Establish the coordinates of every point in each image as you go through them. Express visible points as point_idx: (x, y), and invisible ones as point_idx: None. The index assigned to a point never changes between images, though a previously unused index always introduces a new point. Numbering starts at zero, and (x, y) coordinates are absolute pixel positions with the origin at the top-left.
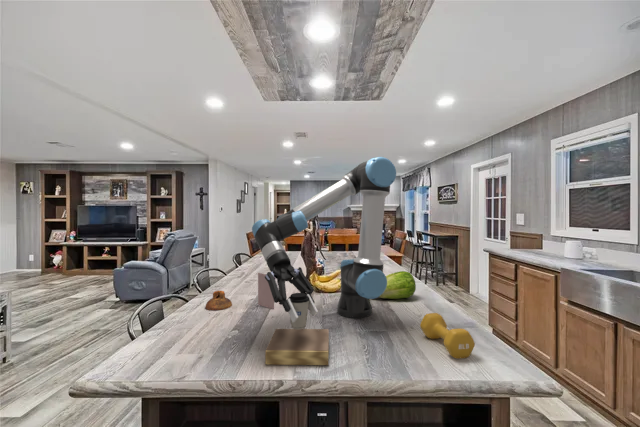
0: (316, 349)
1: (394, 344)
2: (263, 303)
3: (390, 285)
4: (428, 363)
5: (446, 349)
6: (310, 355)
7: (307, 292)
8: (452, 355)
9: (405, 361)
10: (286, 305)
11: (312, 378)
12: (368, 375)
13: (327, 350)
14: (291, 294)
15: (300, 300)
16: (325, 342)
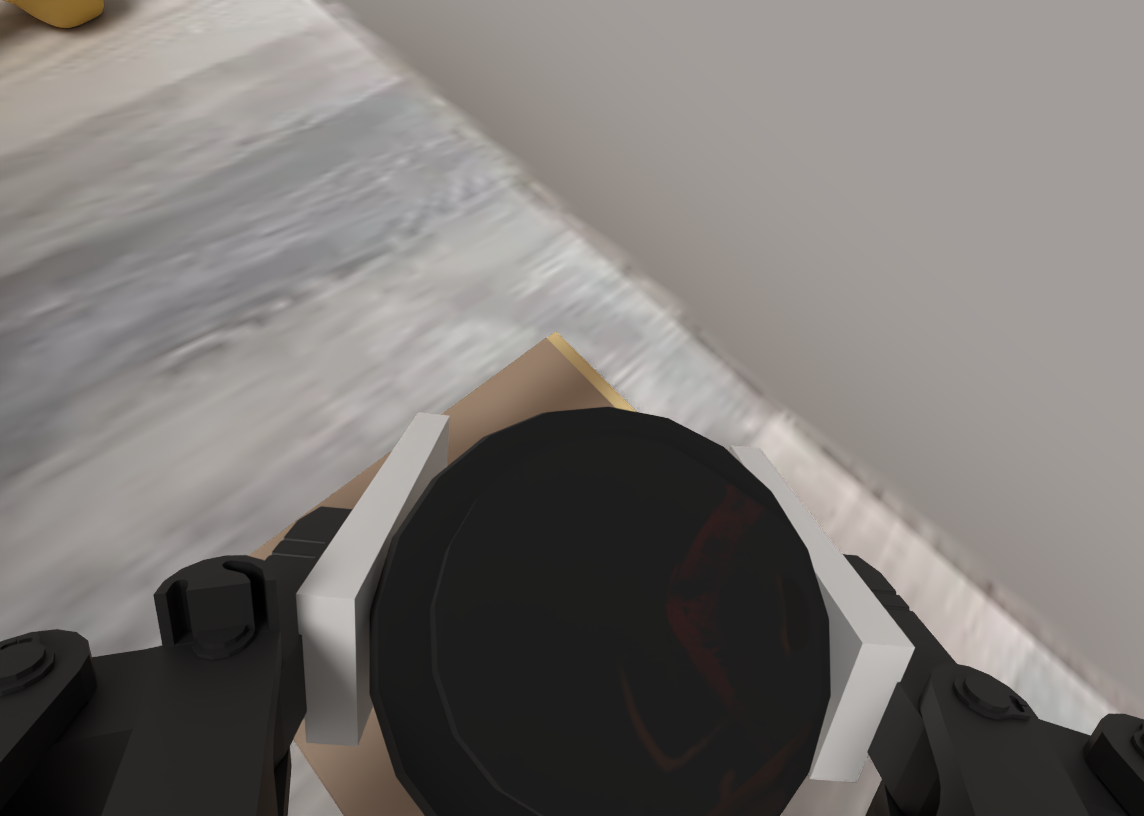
0: (590, 398)
1: (61, 243)
2: None
3: None
4: (218, 72)
5: (62, 8)
6: None
7: (276, 646)
8: (101, 1)
9: (258, 139)
10: (891, 604)
11: (696, 352)
12: (491, 198)
13: (549, 342)
14: (742, 784)
15: (700, 446)
16: (460, 426)
